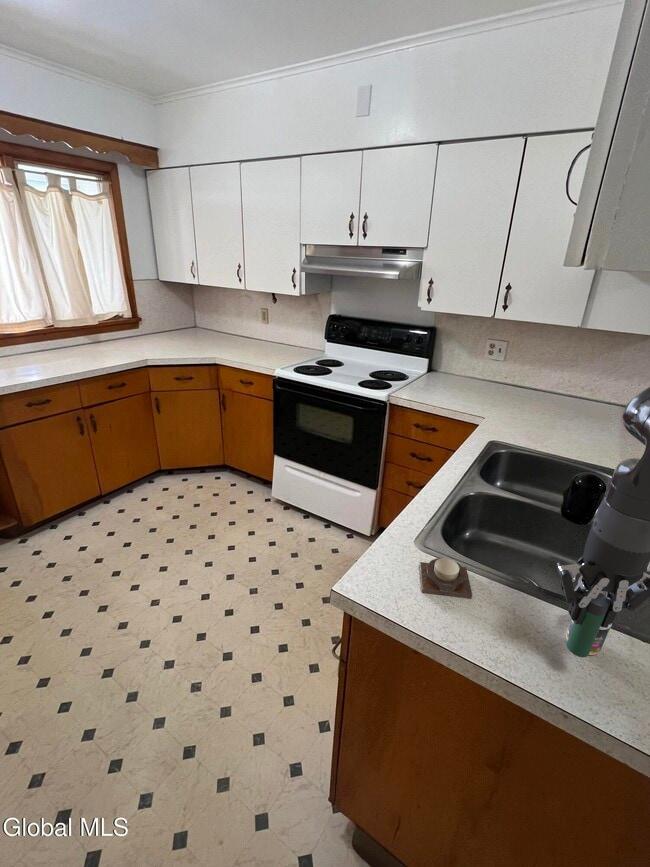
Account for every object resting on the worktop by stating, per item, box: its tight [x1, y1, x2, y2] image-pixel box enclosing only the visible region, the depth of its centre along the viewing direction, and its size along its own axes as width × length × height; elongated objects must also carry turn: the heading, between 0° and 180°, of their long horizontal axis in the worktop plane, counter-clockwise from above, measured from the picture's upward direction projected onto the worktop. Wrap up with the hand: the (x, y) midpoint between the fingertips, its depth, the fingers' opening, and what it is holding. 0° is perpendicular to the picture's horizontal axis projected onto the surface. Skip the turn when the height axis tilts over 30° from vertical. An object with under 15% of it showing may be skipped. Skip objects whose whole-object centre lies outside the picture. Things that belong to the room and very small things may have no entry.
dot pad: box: [434, 557, 459, 581], centre depth 89 cm, size 5×5×2 cm
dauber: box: [566, 592, 610, 658], centre depth 66 cm, size 3×3×11 cm
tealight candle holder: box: [419, 557, 473, 600], centre depth 90 cm, size 10×8×3 cm
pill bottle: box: [565, 618, 613, 656], centre depth 76 cm, size 6×6×10 cm
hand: (588, 621), depth 66 cm, fingers closed on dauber, 3 cm apart
